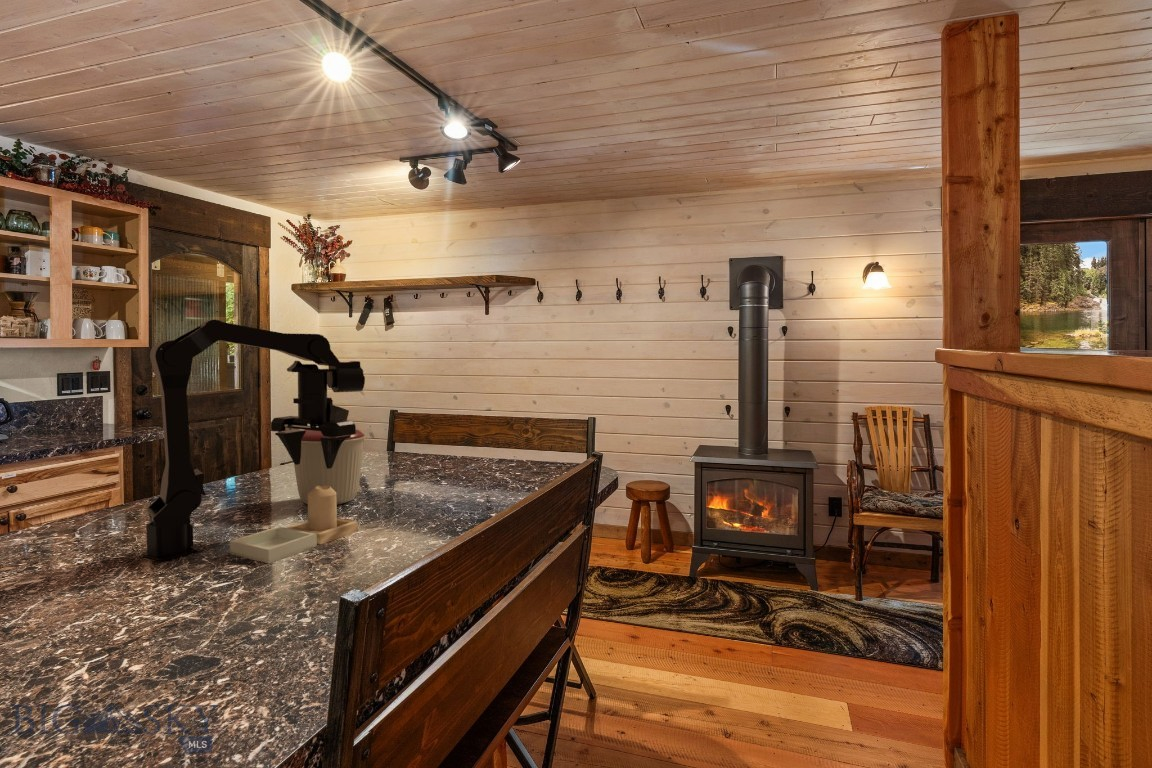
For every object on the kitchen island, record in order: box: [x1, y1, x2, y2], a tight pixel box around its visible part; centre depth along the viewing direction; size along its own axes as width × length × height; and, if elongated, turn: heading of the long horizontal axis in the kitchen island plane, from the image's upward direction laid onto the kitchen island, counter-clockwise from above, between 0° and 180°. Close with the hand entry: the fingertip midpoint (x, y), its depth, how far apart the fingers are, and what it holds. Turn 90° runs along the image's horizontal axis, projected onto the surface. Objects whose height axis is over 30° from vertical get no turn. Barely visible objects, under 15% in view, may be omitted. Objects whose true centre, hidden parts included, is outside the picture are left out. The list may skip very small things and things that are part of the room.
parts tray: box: [229, 526, 318, 564], centre depth 118 cm, size 11×11×2 cm
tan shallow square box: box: [285, 517, 359, 545], centre depth 128 cm, size 10×10×2 cm
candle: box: [307, 486, 338, 532], centre depth 128 cm, size 6×6×10 cm
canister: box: [293, 428, 367, 505], centre depth 155 cm, size 18×18×21 cm
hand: (313, 466), depth 132 cm, fingers open, 9 cm apart
